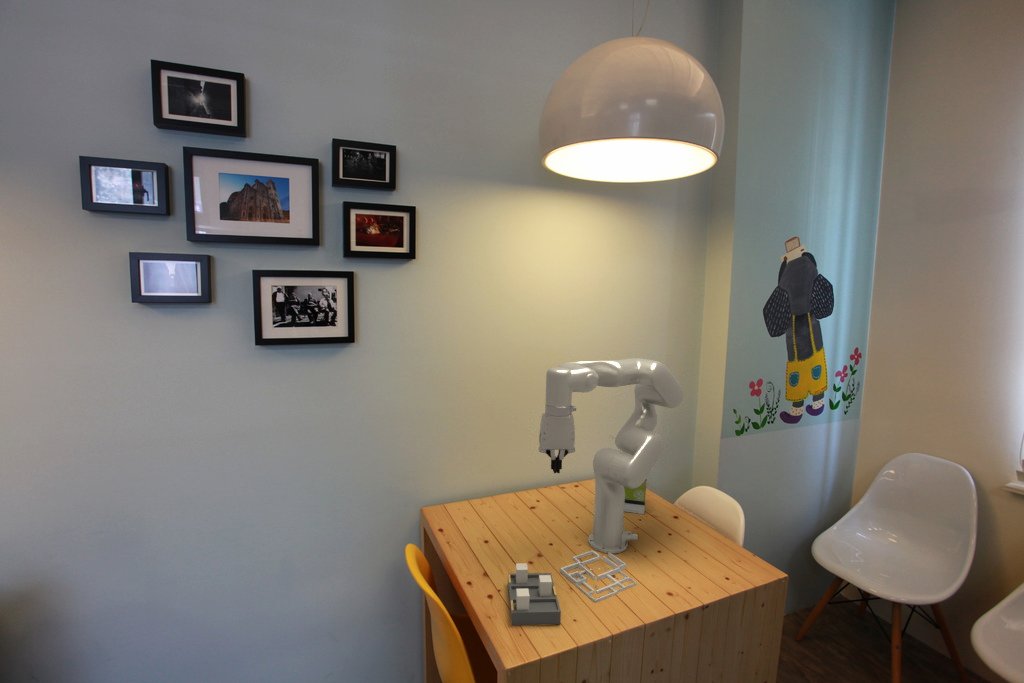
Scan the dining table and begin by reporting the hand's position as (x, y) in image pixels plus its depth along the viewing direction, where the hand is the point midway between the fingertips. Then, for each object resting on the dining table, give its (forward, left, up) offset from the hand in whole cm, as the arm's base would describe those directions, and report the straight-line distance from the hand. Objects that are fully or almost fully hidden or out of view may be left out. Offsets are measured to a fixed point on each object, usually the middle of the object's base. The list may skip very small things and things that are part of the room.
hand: (556, 471), depth 135 cm
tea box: (-34, -39, -29) cm, 59 cm away
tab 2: (+11, +23, -26) cm, 36 cm away
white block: (+5, +17, -26) cm, 32 cm away
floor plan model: (-11, +2, -30) cm, 32 cm away
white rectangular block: (+11, +12, -26) cm, 31 cm away
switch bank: (+8, +17, -29) cm, 35 cm away
